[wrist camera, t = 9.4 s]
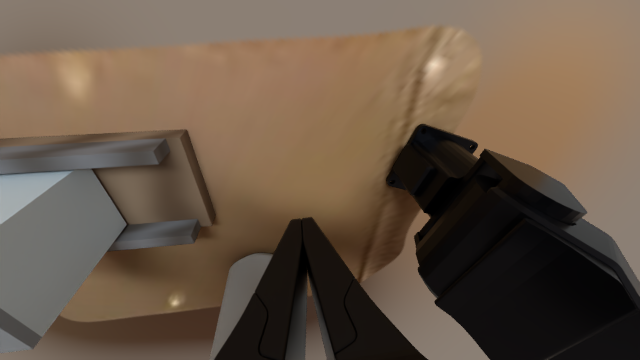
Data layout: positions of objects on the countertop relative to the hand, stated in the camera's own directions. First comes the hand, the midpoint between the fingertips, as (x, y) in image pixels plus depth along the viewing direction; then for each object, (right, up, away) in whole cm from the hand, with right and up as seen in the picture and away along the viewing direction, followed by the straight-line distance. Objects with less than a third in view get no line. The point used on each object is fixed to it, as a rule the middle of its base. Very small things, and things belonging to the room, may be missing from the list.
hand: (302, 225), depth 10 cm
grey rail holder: (-18, +1, +11) cm, 21 cm away
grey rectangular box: (-19, 0, +9) cm, 21 cm away
